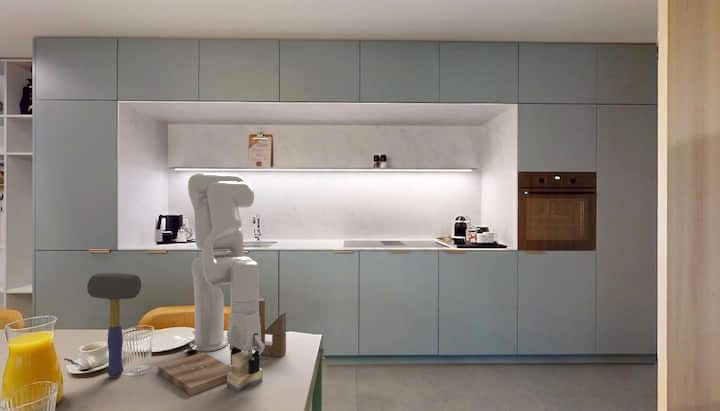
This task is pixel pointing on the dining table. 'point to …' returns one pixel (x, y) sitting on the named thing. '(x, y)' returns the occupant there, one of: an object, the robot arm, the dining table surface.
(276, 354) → the wooden block
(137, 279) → the rubber mallet
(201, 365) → the walnut board
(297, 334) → the dining table surface
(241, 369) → the block
